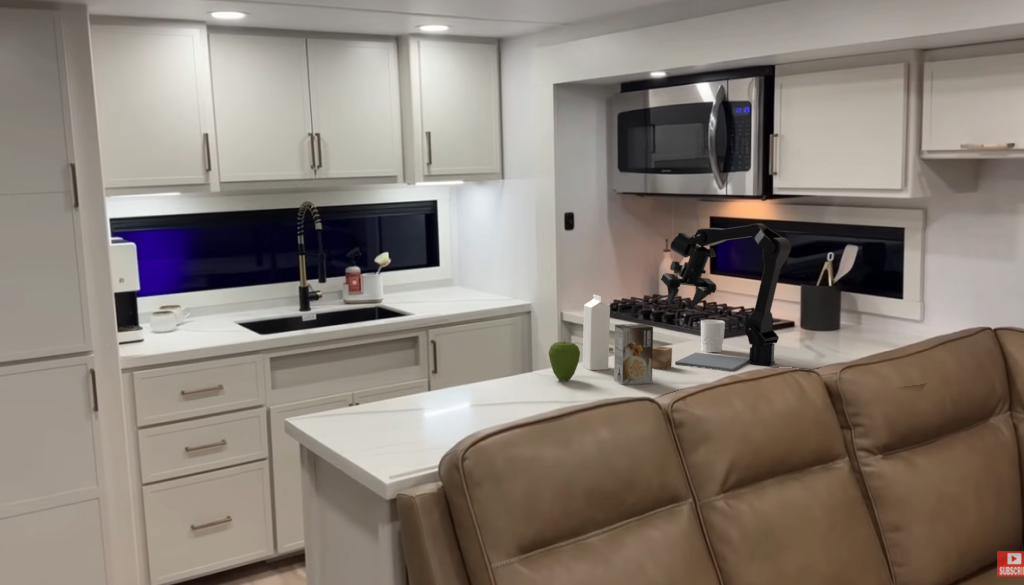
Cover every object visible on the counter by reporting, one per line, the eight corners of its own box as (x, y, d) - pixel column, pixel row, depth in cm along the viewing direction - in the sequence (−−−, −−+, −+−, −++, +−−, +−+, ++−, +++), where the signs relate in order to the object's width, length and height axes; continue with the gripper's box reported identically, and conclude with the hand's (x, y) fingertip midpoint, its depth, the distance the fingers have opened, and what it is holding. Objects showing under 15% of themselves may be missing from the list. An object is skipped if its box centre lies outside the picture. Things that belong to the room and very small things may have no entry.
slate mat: (750, 361, 275) (750, 358, 275) (732, 371, 260) (732, 368, 260) (695, 354, 285) (695, 352, 285) (675, 364, 269) (675, 361, 269)
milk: (600, 365, 266) (602, 293, 264) (608, 369, 261) (610, 296, 258) (581, 366, 265) (584, 294, 262) (589, 370, 259) (591, 296, 256)
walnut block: (671, 367, 265) (672, 347, 265) (665, 370, 261) (665, 350, 260) (656, 365, 268) (656, 346, 267) (649, 368, 264) (650, 348, 263)
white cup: (722, 349, 296) (723, 319, 294) (725, 353, 288) (726, 323, 287) (698, 348, 296) (699, 319, 295) (700, 352, 289) (702, 322, 287)
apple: (584, 379, 247) (585, 339, 246) (570, 385, 240) (571, 343, 239) (557, 375, 252) (557, 336, 250) (543, 381, 244) (543, 340, 243)
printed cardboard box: (643, 378, 249) (644, 323, 247) (652, 383, 243) (654, 326, 241) (613, 380, 246) (614, 324, 244) (621, 385, 240) (623, 327, 238)
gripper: (707, 256, 298) (691, 297, 303) (661, 250, 290) (646, 292, 296) (724, 270, 288) (708, 312, 294) (677, 264, 281) (661, 307, 287)
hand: (680, 305), depth 293 cm, fingers open, 9 cm apart
